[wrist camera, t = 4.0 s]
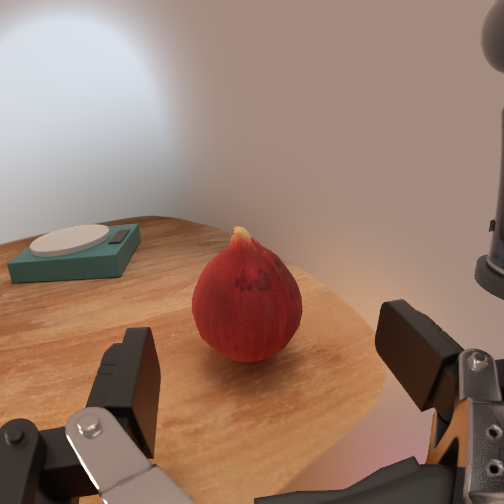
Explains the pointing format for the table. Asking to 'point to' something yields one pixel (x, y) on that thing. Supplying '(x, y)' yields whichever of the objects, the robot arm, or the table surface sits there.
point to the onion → (246, 301)
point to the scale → (76, 254)
